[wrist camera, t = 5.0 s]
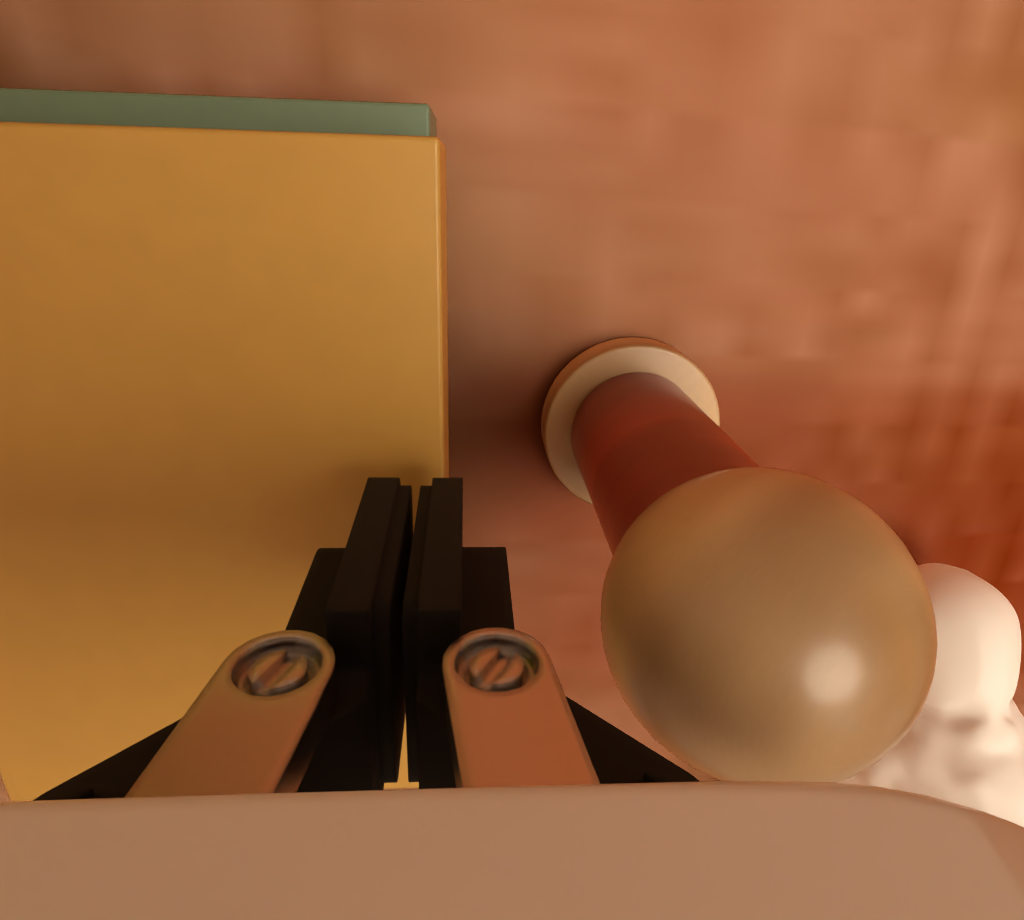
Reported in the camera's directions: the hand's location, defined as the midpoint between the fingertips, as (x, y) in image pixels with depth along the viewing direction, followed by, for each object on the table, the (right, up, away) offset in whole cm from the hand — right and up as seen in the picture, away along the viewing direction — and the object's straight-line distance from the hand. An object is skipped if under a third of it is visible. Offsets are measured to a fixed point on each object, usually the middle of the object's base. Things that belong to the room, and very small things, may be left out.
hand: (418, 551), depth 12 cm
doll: (+2, +3, +7) cm, 8 cm away
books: (-6, +3, +6) cm, 9 cm away
